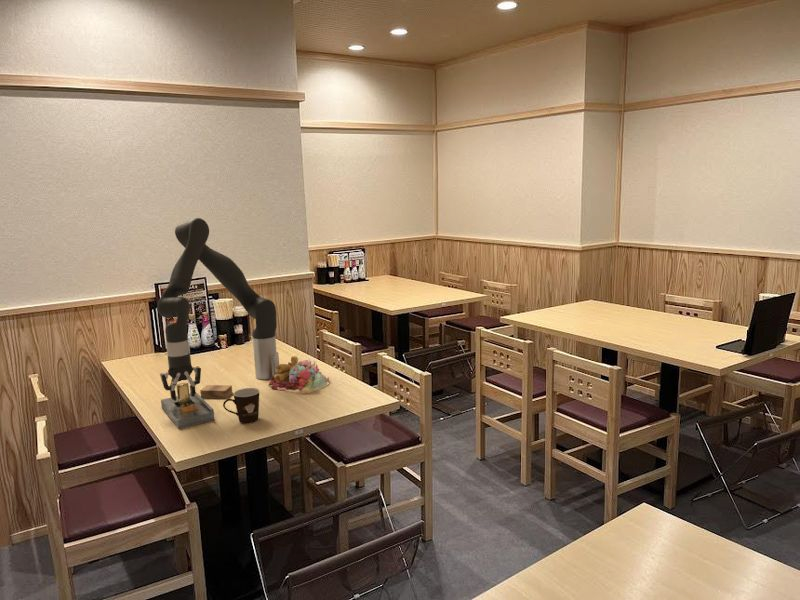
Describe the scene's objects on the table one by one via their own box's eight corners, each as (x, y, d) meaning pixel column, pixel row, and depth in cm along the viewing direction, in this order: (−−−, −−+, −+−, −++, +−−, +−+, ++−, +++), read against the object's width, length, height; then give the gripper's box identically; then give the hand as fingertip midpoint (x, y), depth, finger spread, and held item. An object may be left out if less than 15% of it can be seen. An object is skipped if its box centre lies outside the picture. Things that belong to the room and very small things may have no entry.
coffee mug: (263, 414, 211) (261, 387, 209) (259, 424, 202) (256, 396, 200) (230, 416, 210) (227, 388, 208) (224, 426, 202) (221, 397, 200)
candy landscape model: (257, 388, 239) (255, 366, 237) (294, 371, 259) (292, 350, 257) (309, 397, 227) (307, 373, 225) (343, 378, 248) (341, 356, 246)
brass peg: (192, 408, 218) (190, 382, 216) (187, 413, 214) (184, 386, 212) (182, 408, 219) (179, 382, 217) (177, 412, 215) (174, 386, 213)
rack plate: (214, 420, 207) (213, 409, 206) (178, 428, 201) (177, 417, 200) (194, 400, 227) (193, 390, 226) (161, 407, 220) (160, 397, 219)
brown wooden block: (232, 392, 233) (231, 385, 233) (226, 398, 228) (225, 390, 227) (207, 392, 235) (207, 385, 234) (201, 397, 229) (200, 390, 228)
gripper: (196, 346, 219) (200, 390, 222) (154, 354, 211) (160, 399, 214) (202, 351, 213) (206, 396, 216) (159, 359, 205) (165, 405, 208)
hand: (183, 397), depth 215 cm, fingers open, 5 cm apart
